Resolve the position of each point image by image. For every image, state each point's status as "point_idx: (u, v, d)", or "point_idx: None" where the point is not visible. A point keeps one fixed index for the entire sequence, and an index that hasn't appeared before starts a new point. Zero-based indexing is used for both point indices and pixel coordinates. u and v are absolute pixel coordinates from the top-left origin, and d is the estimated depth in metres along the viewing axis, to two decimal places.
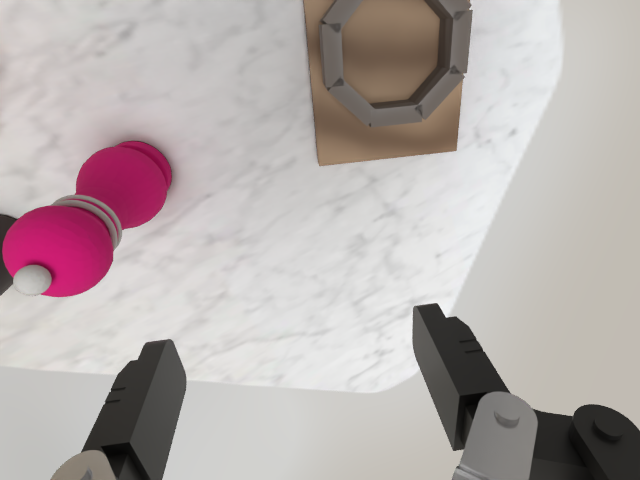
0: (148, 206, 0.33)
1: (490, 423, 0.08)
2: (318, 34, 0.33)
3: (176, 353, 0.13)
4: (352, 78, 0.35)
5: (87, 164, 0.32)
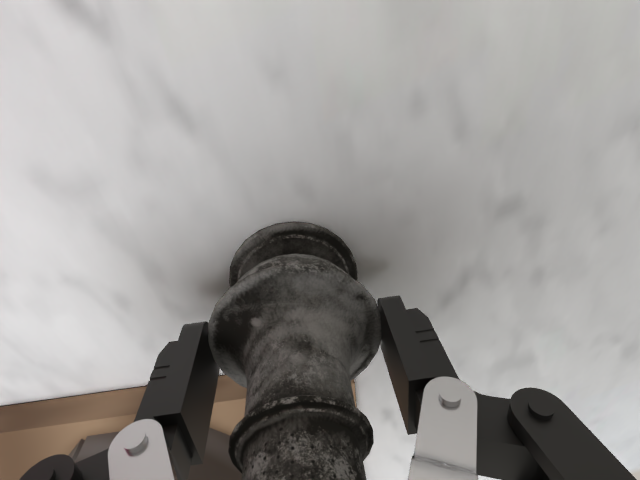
0: None
1: (436, 408, 0.09)
2: None
3: None
4: None
5: None
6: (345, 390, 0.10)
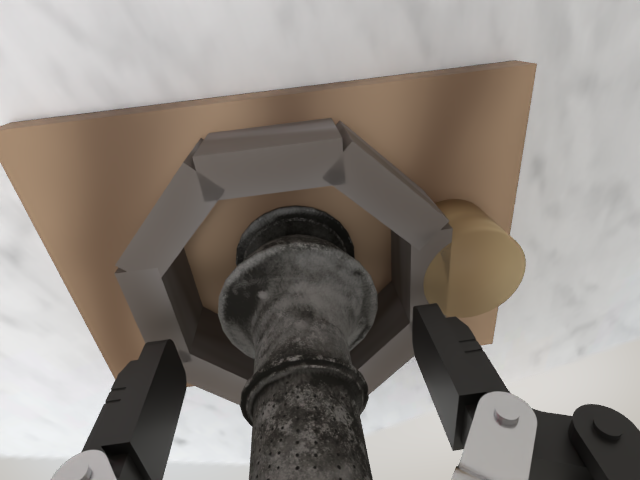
0: None
1: (489, 423, 0.08)
2: (312, 118, 0.14)
3: (176, 353, 0.13)
4: (227, 199, 0.16)
5: None
6: (343, 353, 0.11)
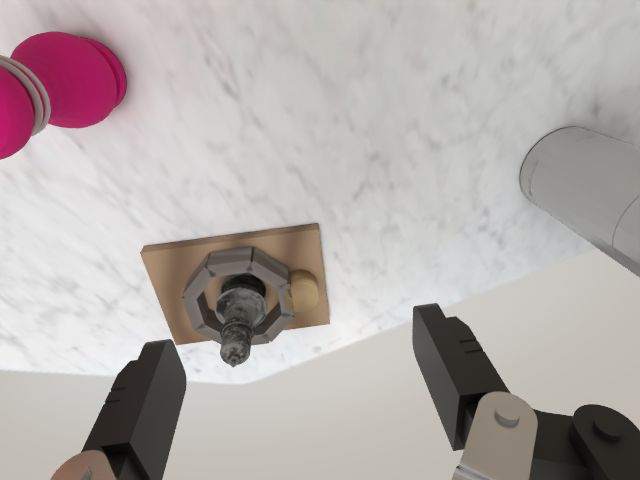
0: (52, 123, 0.30)
1: (490, 423, 0.08)
2: (245, 246, 0.43)
3: (176, 353, 0.13)
4: None
5: (86, 61, 0.29)
6: (249, 320, 0.40)
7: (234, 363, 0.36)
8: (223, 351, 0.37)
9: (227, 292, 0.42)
